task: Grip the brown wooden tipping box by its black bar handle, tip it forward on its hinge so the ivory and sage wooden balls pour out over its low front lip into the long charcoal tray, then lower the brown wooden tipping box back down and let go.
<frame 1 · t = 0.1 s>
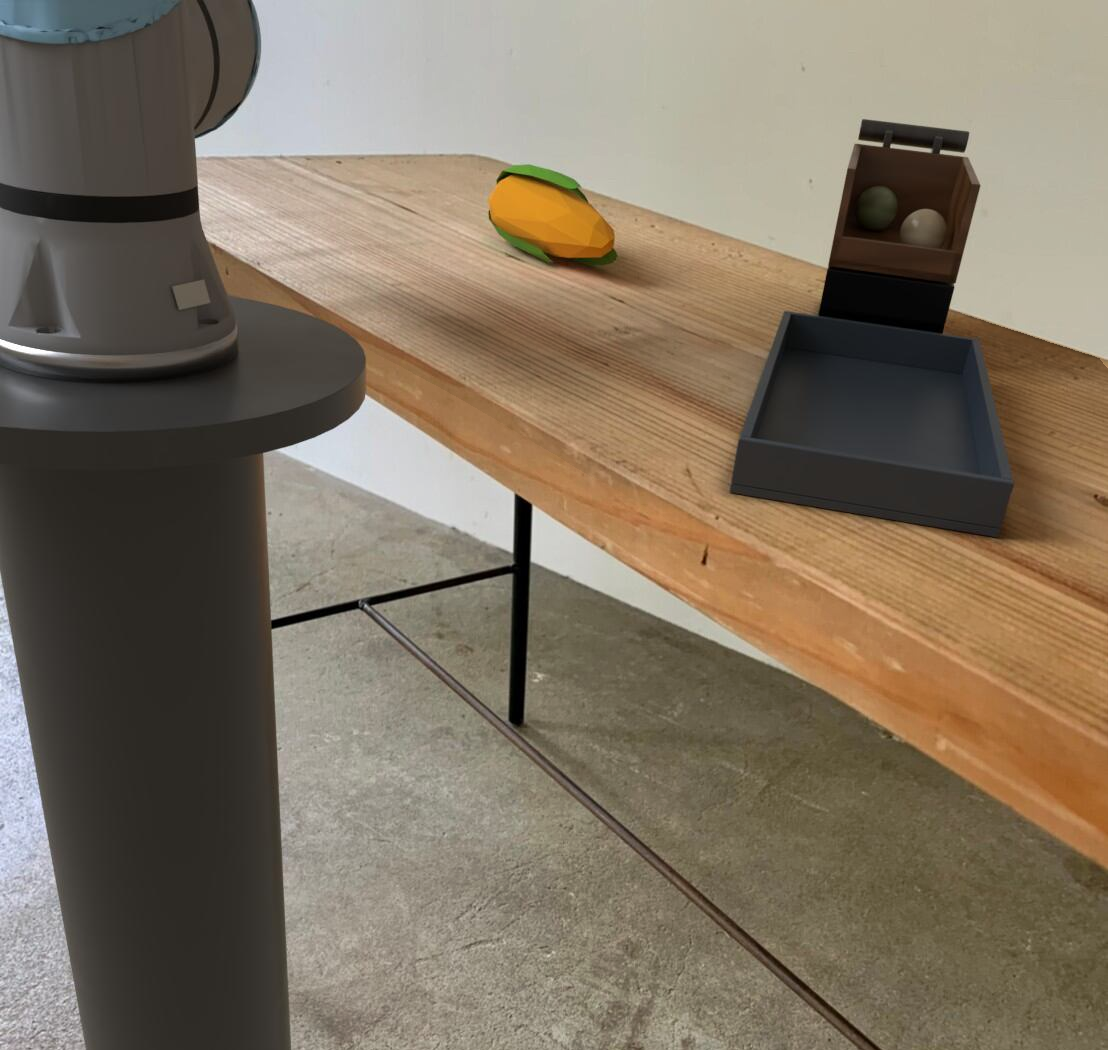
corn: (553, 261, 112), on the table
tray: (867, 427, 77), on the table
ball ivory: (923, 233, 90), point 8 cm above the table, touching brown wooden tipping box
ball sage: (876, 208, 99), point 8 cm above the table, touching brown wooden tipping box
brown wooden tipping box: (904, 194, 94), point 10 cm above the table, hinge at 0.0°, touching ball ivory, ball sage
stand: (871, 360, 91), on the table
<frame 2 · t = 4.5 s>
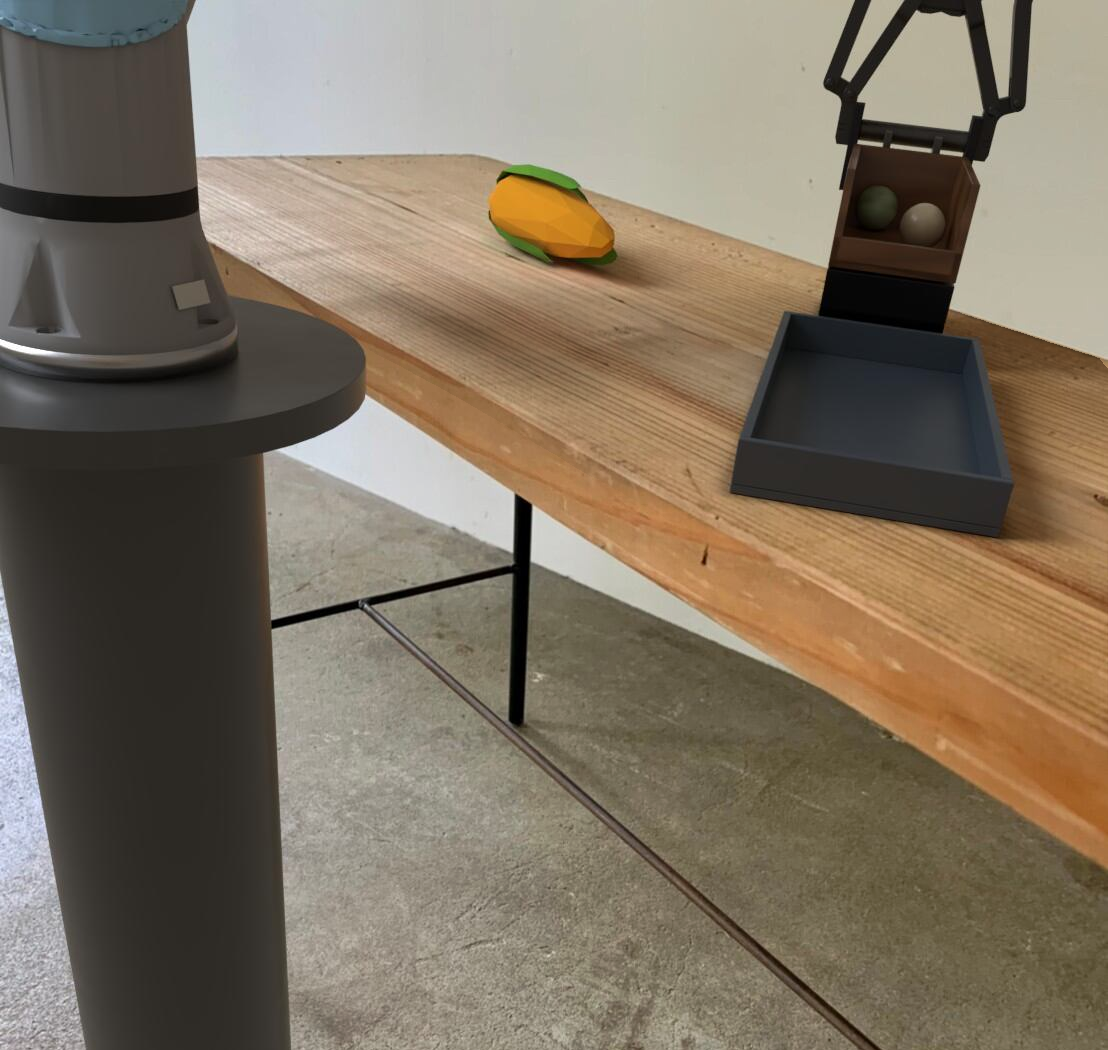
hand: (899, 195, 103), 9 cm above the table, tool pointing down, fingers closed on brown wooden tipping box, 9 cm apart
ball ivory: (922, 227, 93), point 8 cm above the table, tilted 104°, touching brown wooden tipping box
ball sage: (876, 208, 99), point 8 cm above the table, tilted 12°, touching brown wooden tipping box
brown wooden tipping box: (904, 194, 94), point 10 cm above the table, hinge at 0.0°, touching ball ivory, ball sage, gripper
everything else where it was.
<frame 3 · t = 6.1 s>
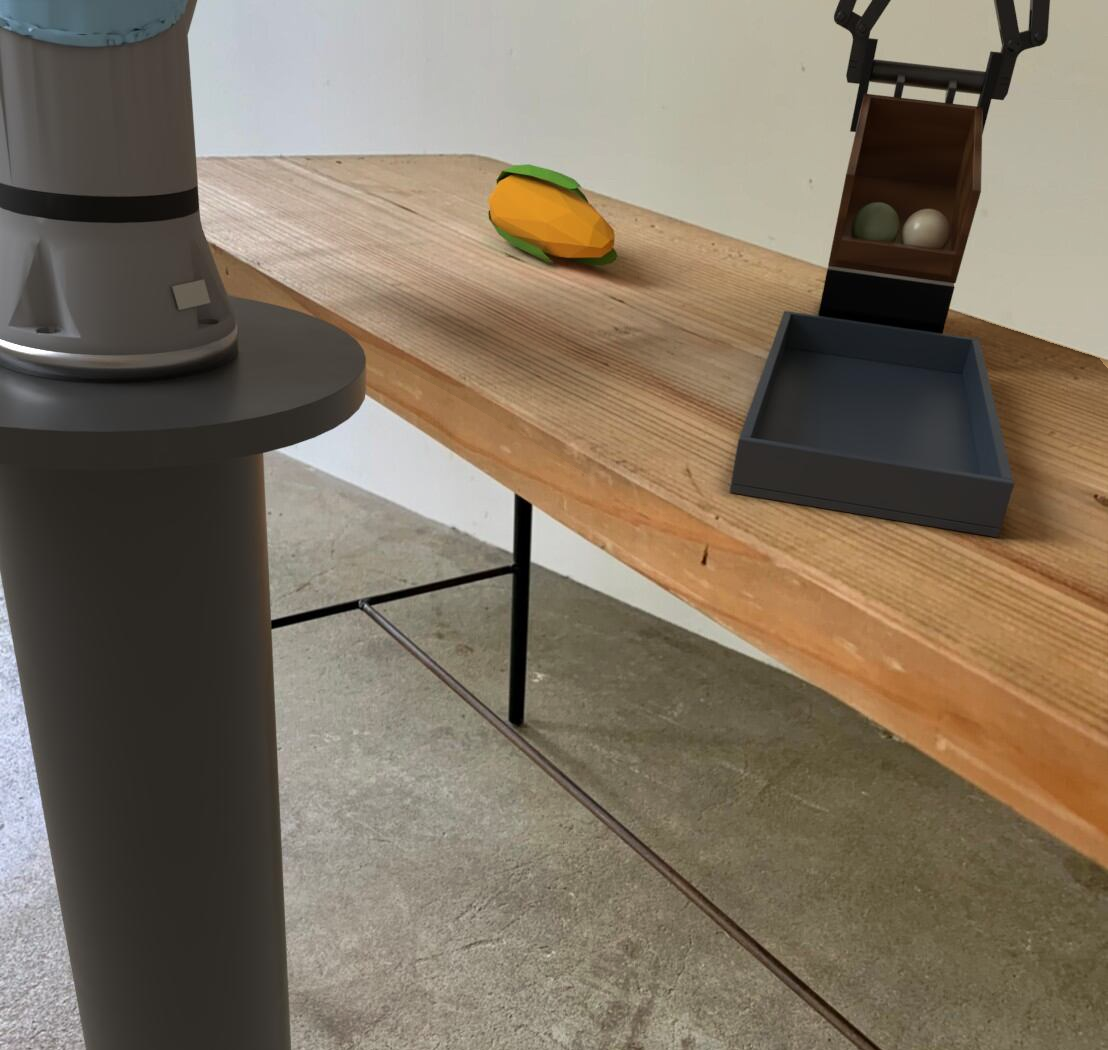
hand: (913, 137, 98), 14 cm above the table, tool pointing down, fingers closed on brown wooden tipping box, 9 cm apart
ball ivory: (925, 234, 87), point 9 cm above the table, tilted 129°, touching brown wooden tipping box
ball sage: (875, 227, 88), point 9 cm above the table, tilted 71°, touching brown wooden tipping box
brown wooden tipping box: (911, 164, 92), point 13 cm above the table, hinge at 13.3°, touching ball ivory, ball sage, gripper
everything else where it was.
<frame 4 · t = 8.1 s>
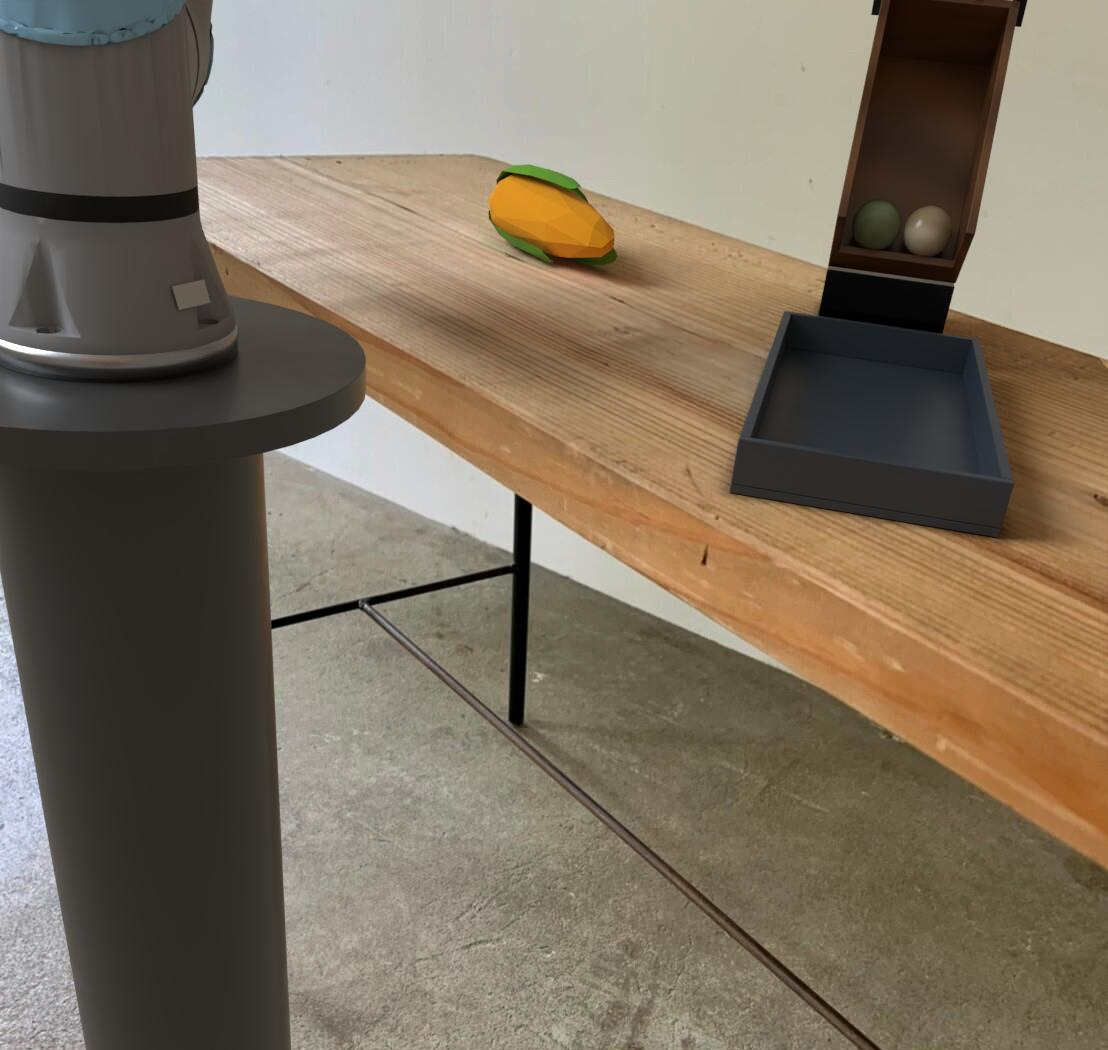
hand: (944, 19, 87), 22 cm above the table, tool pointing down, fingers open, 9 cm apart
ball ivory: (927, 231, 85), point 9 cm above the table, tilted 166°, touching brown wooden tipping box
ball sage: (876, 225, 86), point 9 cm above the table, tilted 109°, touching brown wooden tipping box
brown wooden tipping box: (927, 106, 85), point 17 cm above the table, hinge at 50.8°, touching ball ivory, ball sage, gripper
everything else where it was.
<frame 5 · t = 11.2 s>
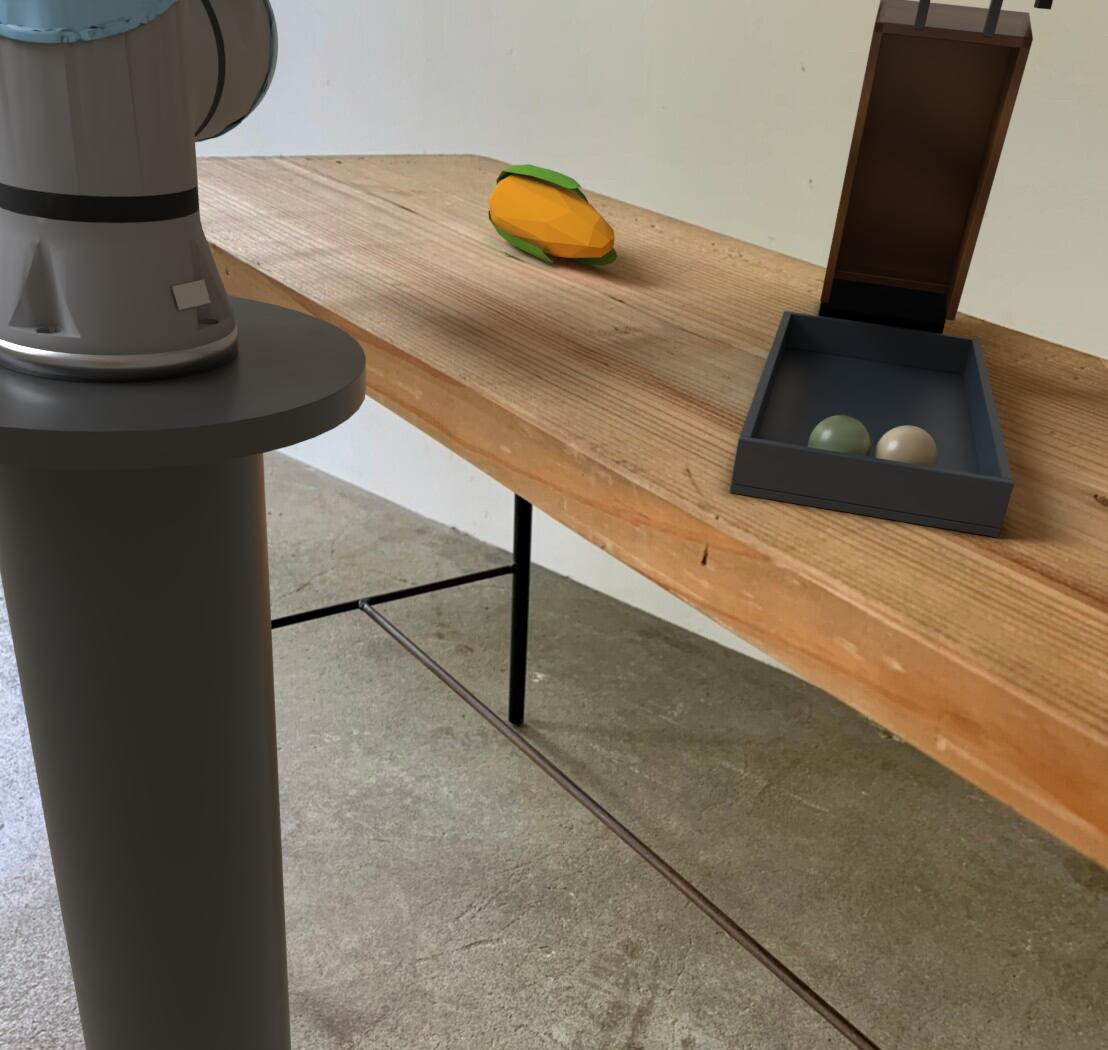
hand: (959, 1, 74), 23 cm above the table, tool pointing down, fingers open, 9 cm apart
ball ivory: (905, 457, 66), point 2 cm above the table, tilted 56°, touching tray
ball sage: (839, 446, 66), point 2 cm above the table, touching tray
brown wooden tipping box: (926, 137, 78), point 16 cm above the table, hinge at 100.7°, touching gripper
everything else where it was.
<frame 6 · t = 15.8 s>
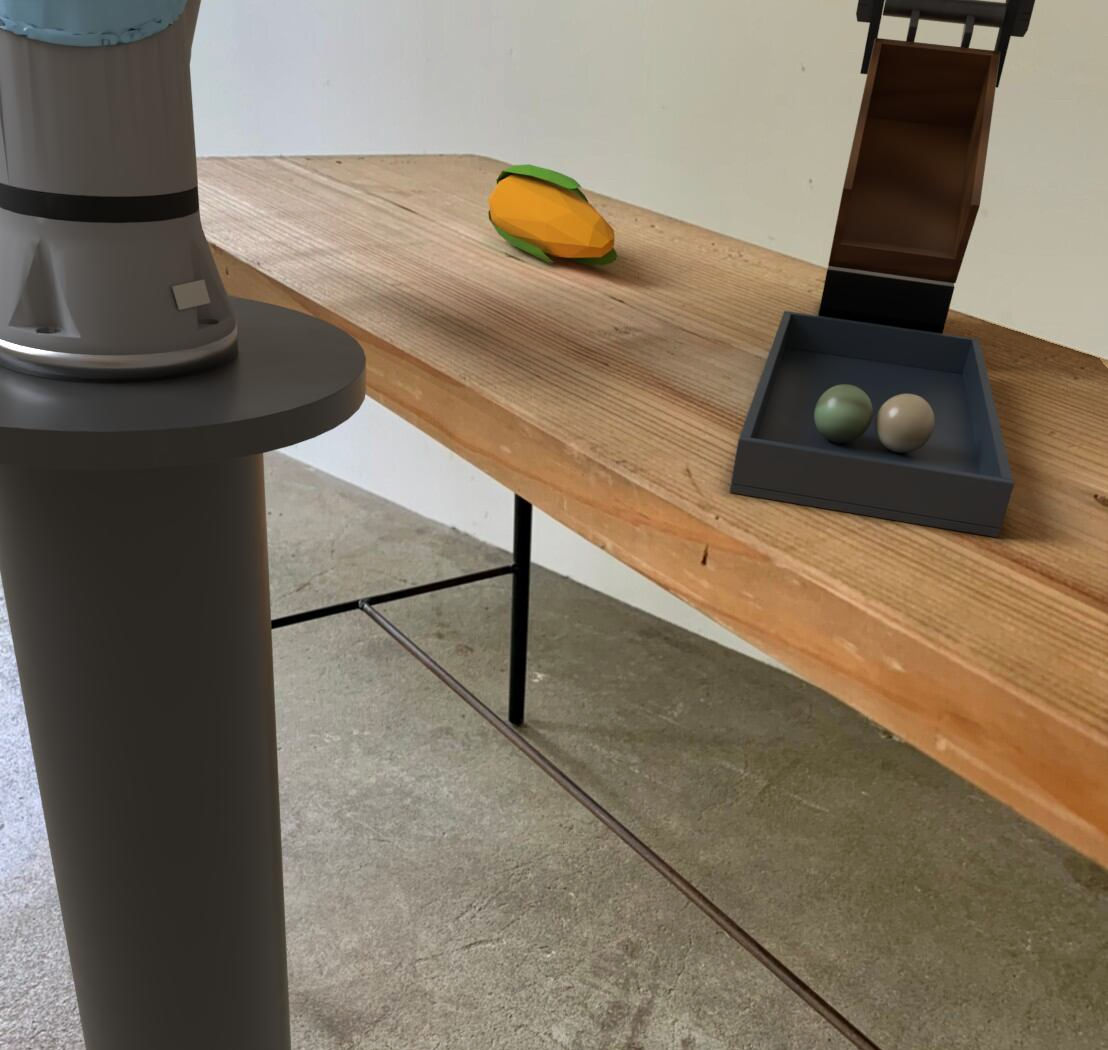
hand: (928, 79, 93), 18 cm above the table, tool pointing down, fingers closed on brown wooden tipping box, 9 cm apart
ball ivory: (904, 423, 71), point 2 cm above the table, tilted 152°, touching tray
ball sage: (843, 413, 72), point 2 cm above the table, tilted 150°, touching tray
brown wooden tipping box: (919, 132, 89), point 15 cm above the table, hinge at 30.0°, touching gripper
everything else where it was.
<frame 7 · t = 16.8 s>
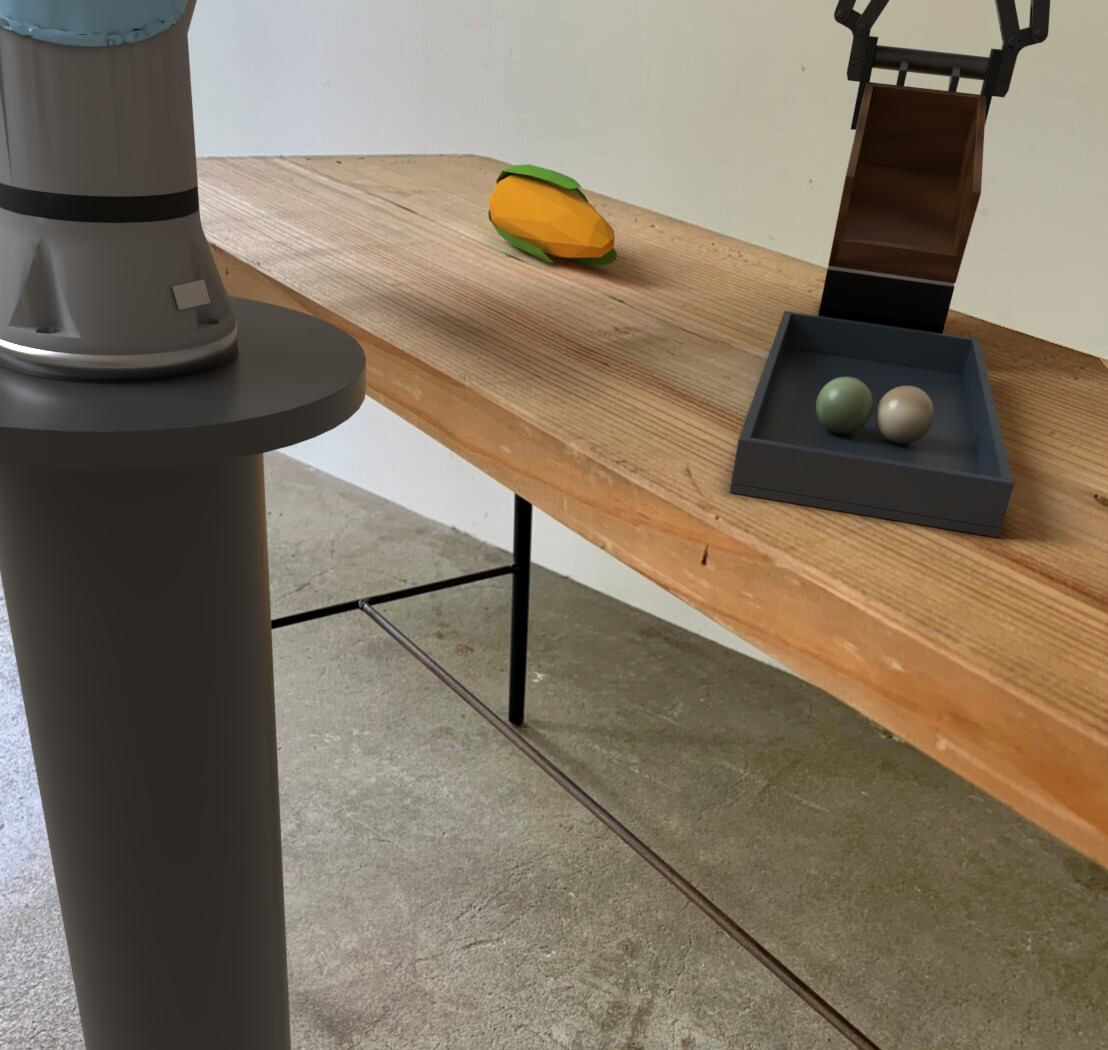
hand: (914, 134, 98), 14 cm above the table, tool pointing down, fingers closed on brown wooden tipping box, 9 cm apart
ball ivory: (904, 415, 72), point 2 cm above the table, tilted 149°, touching tray
ball sage: (844, 405, 73), point 2 cm above the table, tilted 91°, touching tray
brown wooden tipping box: (913, 157, 91), point 13 cm above the table, hinge at 16.6°, touching gripper
everything else where it was.
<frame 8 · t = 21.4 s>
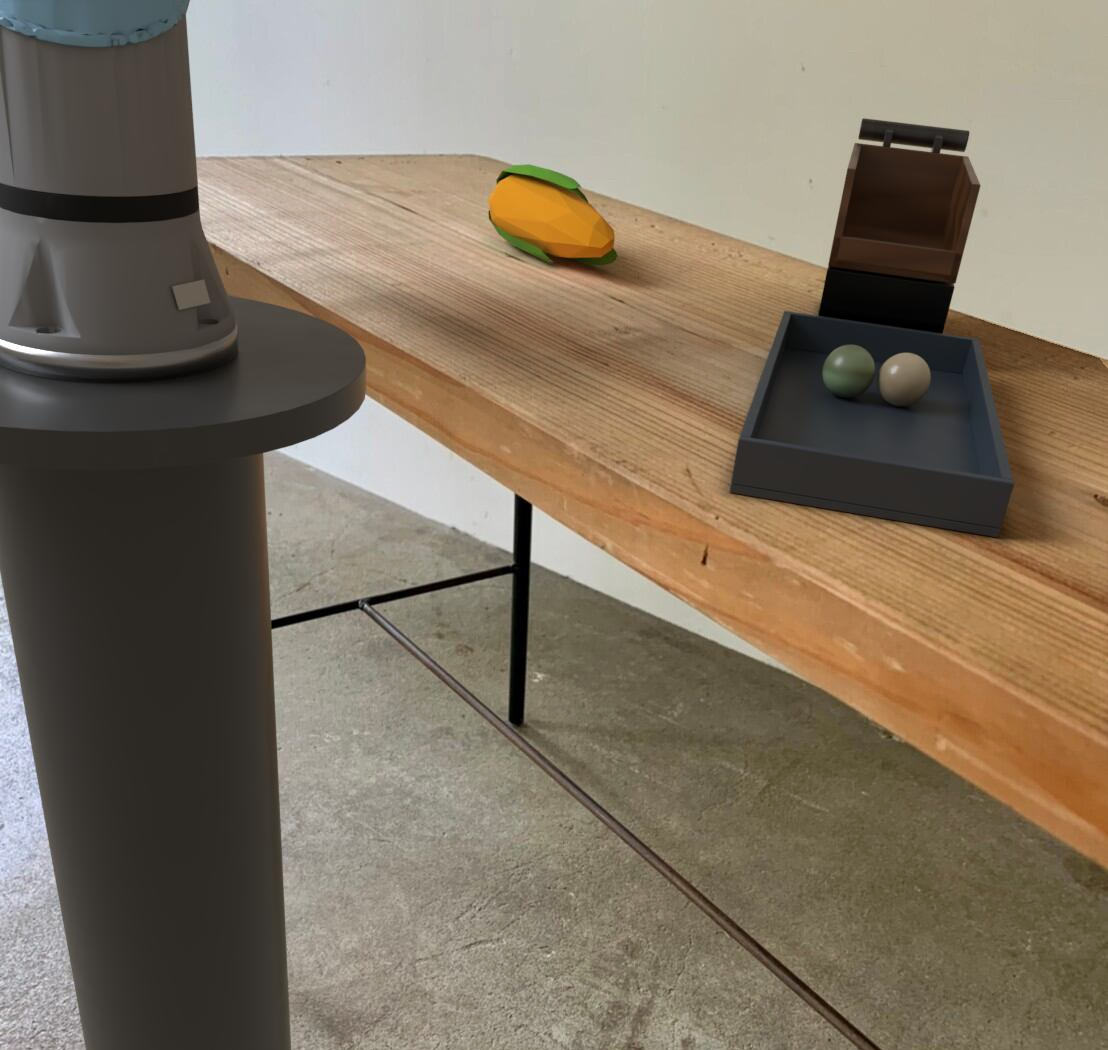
ball ivory: (903, 379, 79), point 2 cm above the table, tilted 121°, touching tray
ball sage: (848, 371, 80), point 2 cm above the table, tilted 179°, touching tray
brown wooden tipping box: (904, 194, 94), point 10 cm above the table, hinge at 0.1°
everything else where it was.
at the end: brown wooden tipping box reached +101° during the clip, +0° at the end; ball ivory touching tray; ball sage touching tray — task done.
